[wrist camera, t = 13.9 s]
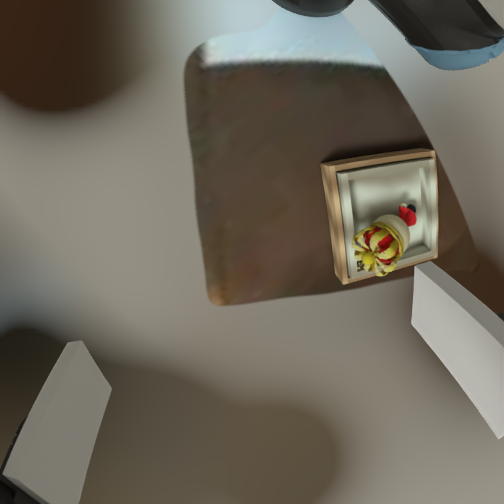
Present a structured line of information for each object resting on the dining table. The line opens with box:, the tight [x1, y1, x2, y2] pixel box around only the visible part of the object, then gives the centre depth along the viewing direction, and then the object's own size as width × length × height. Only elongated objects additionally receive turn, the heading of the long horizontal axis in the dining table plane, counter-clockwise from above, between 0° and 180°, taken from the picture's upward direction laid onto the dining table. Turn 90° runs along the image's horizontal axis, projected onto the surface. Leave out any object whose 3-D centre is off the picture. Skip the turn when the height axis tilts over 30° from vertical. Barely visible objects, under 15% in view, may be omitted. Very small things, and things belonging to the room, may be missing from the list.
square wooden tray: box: [320, 148, 438, 284], centre depth 44 cm, size 18×18×5 cm
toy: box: [352, 202, 417, 276], centre depth 41 cm, size 7×7×15 cm
